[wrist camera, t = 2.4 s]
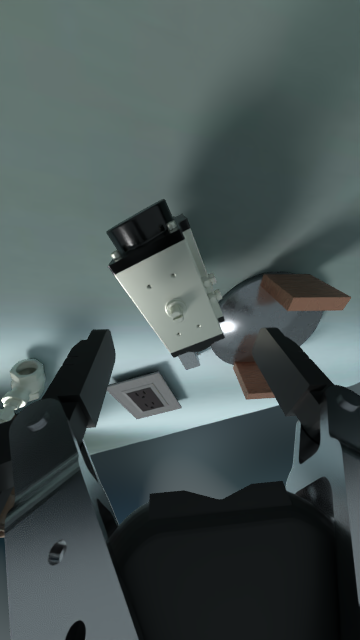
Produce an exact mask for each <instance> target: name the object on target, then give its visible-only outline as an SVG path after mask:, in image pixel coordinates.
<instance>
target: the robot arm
mask: <svg viewBox="0 0 360 640" xmlns="http://www.w3.org/2000/svg"><path fill="white" fill-rule="evenodd" d="M252 355H253V358H254V360H255V362H256V364H257V366H258V367H259V369H260V371H261V373H262V375H263V376H264V378H265V380H266V382H267V384H268V385H269V387H270V389H271V391H272V392H273V394H274V396H275V398H276V400H277V401H278V403H279V405H280V407H281V409H282V410H283V412H284V414H285V416H297V418H298V419H299V421H298V422H297V424H296V435H295V447H294V448H295V449H294V459H293V466H292V470H291V472H290V474H289V476H288V479H287V483H286V488H285V486H284V484H283V481H277V482H267V483H257V484H251V485H249V486H247V487H245V488H243V489H241V490H239V491H237V492H235V493H234V494H232V495H230V496H228V497H226V498H225V499H220V500H219V499H214V498H210V497H207V496H203V495H199V494H195V493H191V492H188V491H174V492H164V493H154V494H150V500H149V502H148V503H146V504H144V505H142V506H141V507H139V508H138V509H136V510H135V511H134V512H132V513H131V514H130V515H129V516H128V517H127V518H126V519H125V520H124V521H123V522H122V523H121V524H120V525H119V524H118V522H117V519H116V517H115V514H114V512H113V509H112V507H111V504H110V502H109V500H108V497H107V495H106V493H105V491H104V489H103V487H102V485H101V483H100V480H99V478H98V475H97V473H96V470H95V468H94V465H93V463H92V460H91V458H90V455H89V452H88V450H87V447H86V445H85V442H84V440H83V437H84V434H85V431H86V428H91V427H96V425H97V421H98V418H99V414H100V411H101V408H102V404H103V401H104V397H105V394H106V390H107V387H108V384H109V380H110V377H111V373H112V370H113V366H114V363H115V349H114V345H113V340H112V336H111V332H110V330H109V329H102V330H92V331H91V333H90V335H89V337H88V339H87V340H81V341H80V342H79V343H77V344H76V345H75V346H74V347H73V348H72V349H71V351H70V353H69V354H68V356H67V358H66V359H65V361H64V363H63V366H61V368H60V369H59V371H58V373H57V374H56V376H55V378H54V379H53V381H52V383H51V384H50V386H49V388H48V389H47V391H46V393H45V394H44V396H43V397H42V399H41V400H39V401H36V402H34V403H32V404H31V405H29V406H27V407H26V408H25V409H23V410H22V411H21V412H20V413H19V414H18V415H17V416H16V418H15V419H12V420H10V421H7V422H3V423H0V515H1V513H2V511H3V509H4V506H5V504H6V502H7V500H8V498H9V496H10V494H11V491H12V489H13V487H14V491H15V503H14V506H13V507H12V508H11V509H10V510H9V511H8V513H7V515H6V519H5V527H4V534H5V551H6V568H7V586H8V603H9V619H10V637H11V640H360V395H358V394H357V393H355V392H354V391H352V390H350V389H348V388H346V387H343V386H339V385H334V384H333V383H332V382H331V381H330V380H329V379H328V377H327V376H326V375H325V374H324V373H323V372H322V371H321V370H320V369H319V368H318V366H317V365H316V364H315V363H314V362H313V361H312V360H311V359H309V357H308V355H307V354H306V353H305V352H303V350H302V349H301V348H300V347H299V346H298V344H297V343H295V342H294V341H292V340H291V339H290V338H288V337H285V335H284V334H283V333H282V332H281V331H280V330H279V329H278V328H276V327H268V328H261V329H260V330H259V333H258V335H257V338H256V341H255V343H254V346H253V349H252Z"/></svg>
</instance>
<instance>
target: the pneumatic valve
mask: <svg viewBox="0 0 360 640" xmlns="http://www.w3.org/2000/svg"><path fill="white" fill-rule="evenodd" d="M106 233H107V235H108V236H109V238H110V239H111V241H112V242H113V244H114V246H115V247H116V249H117V250H116V251H114V252H113V253H111V254H110V255H111V257H112V258H113V259H112V261H111V262H110V263H109V265H108V267H109V269H110V270H111V272H112V273H113V274H114V276H115V277H116V279H117V280H118V281H119V283H120V284H121V285H122V287H123V288H124V290H125V291H126V292H127V294H128V295H129V297H130V298H131V299H132V301H133V302H134V303H135V305H136V306H137V308H138V309H139V310H140V312H141V313H142V315H143V316H144V317H145V319H146V320H147V321H148V323H149V324H150V326H151V327H152V328H153V330H154V331H155V333H156V334H157V335H158V337H159V338H160V339H161V341H162V342H163V344H164V345H165V346H166V348H167V349H168V351H169V352H170V353H171V355H172V356H173V357H177V356H179V355H182V354H185V353H187V352H199V351H202V350H205V349H207V348H208V347H210V346H211V345H212V344H213V343H214V342H216V341H219V340H222V339H224V338H225V336H224V334H223V331H222V329H221V326H220V324H219V323H221V322H224V321H225V319H224V316H223V314H222V311H221V308H220V306H219V303H218V300H221V299H222V295H221V293H220V291H219V289H218V290H215V291H214V290H213V287H212V285H213V284H215V283H217V281H216V278H215V276H214V274H213V273H210V274H207V271H206V268H205V265H204V263H203V260H202V257H201V255H200V252H199V249H198V247H197V244H196V241H195V239H194V236H193V233H192V231H191V228H190V225H189V223H188V220H187V218H186V217H185V216H184V215H183V214H181V215H179V216H177V217H172V214H171V212H170V210H169V208H168V205H167V203H166V200H165V199H162V200H160V201H158V202H156V203H154V204H152V205H151V206H149V207H147V208H145V209H143V210H142V211H140V212H138V213H136V214H135V215H133V216H131V217H129V218H128V219H126V220H124V221H122V222H121V223H119V224H117V225H116V226H114V227H112V228H111V229H109V230H108V231H107V232H106ZM211 283H212V284H211ZM217 299H218V300H217Z"/></svg>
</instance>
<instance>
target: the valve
mask: <svg viewBox="0 0 360 640" xmlns="http://www.w3.org/2000/svg"><path fill="white" fill-rule="evenodd" d="M10 374H11V378H12V381H11V387H12V391H9V392H7V393H6V394H5V396H4V397H3V398H2V403H3V406H4V409H0V423H3V422H7V421H10V420H11V419H12V418H13V416H14V415H15V413H14V410H17V409H19V408H21V407H24V406H25V405H26V404H27V402H29V401H33V400H36V399H38V398H39V397H40V396H41V394H42V393H43V391H44V389H45V380H46V376H45V373H44V369H43V365H42V364H41V363H40V362H39V361H38V360H36V359H27V360H22V361H19V362H18V363H16V365H15V366H14V367H13V368H12V369H11V371H10Z"/></svg>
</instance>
